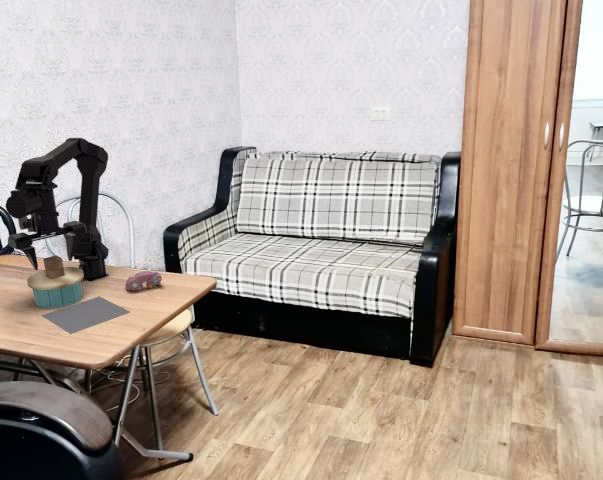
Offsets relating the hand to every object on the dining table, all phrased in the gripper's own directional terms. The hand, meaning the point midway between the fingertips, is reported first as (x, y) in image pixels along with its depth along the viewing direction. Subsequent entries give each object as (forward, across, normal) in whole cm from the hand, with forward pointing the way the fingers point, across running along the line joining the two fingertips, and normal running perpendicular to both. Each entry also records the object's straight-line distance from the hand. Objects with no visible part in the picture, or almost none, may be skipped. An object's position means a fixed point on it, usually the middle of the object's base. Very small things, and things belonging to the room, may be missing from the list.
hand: (53, 265), depth 155 cm
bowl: (+10, 0, 0) cm, 10 cm away
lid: (+4, 0, 0) cm, 4 cm away
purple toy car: (+11, -20, +11) cm, 25 cm away
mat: (+10, 0, +15) cm, 18 cm away
